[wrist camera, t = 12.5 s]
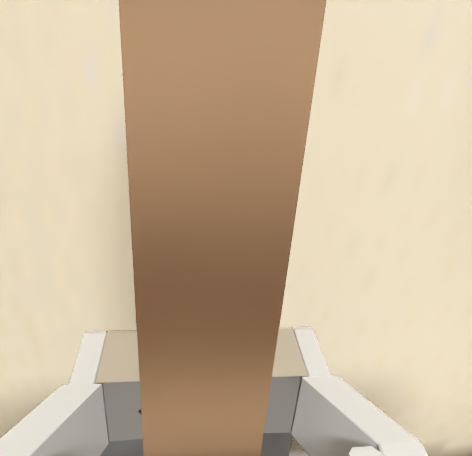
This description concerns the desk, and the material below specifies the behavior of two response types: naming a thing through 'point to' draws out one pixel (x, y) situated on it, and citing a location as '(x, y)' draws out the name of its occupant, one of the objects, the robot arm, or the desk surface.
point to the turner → (213, 210)
